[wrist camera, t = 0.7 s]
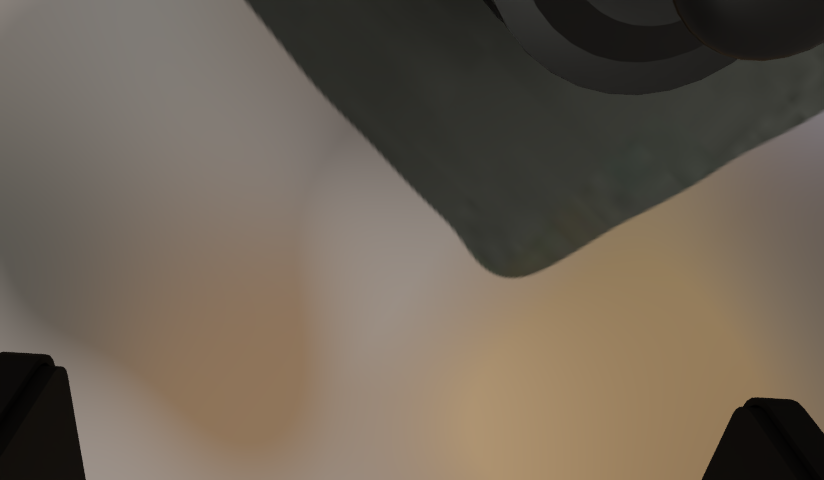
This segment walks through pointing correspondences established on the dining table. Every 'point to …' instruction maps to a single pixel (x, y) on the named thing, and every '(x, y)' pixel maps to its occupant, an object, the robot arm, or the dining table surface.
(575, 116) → the dining table surface
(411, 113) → the dining table surface
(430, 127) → the dining table surface
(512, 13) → the french press
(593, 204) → the dining table surface
